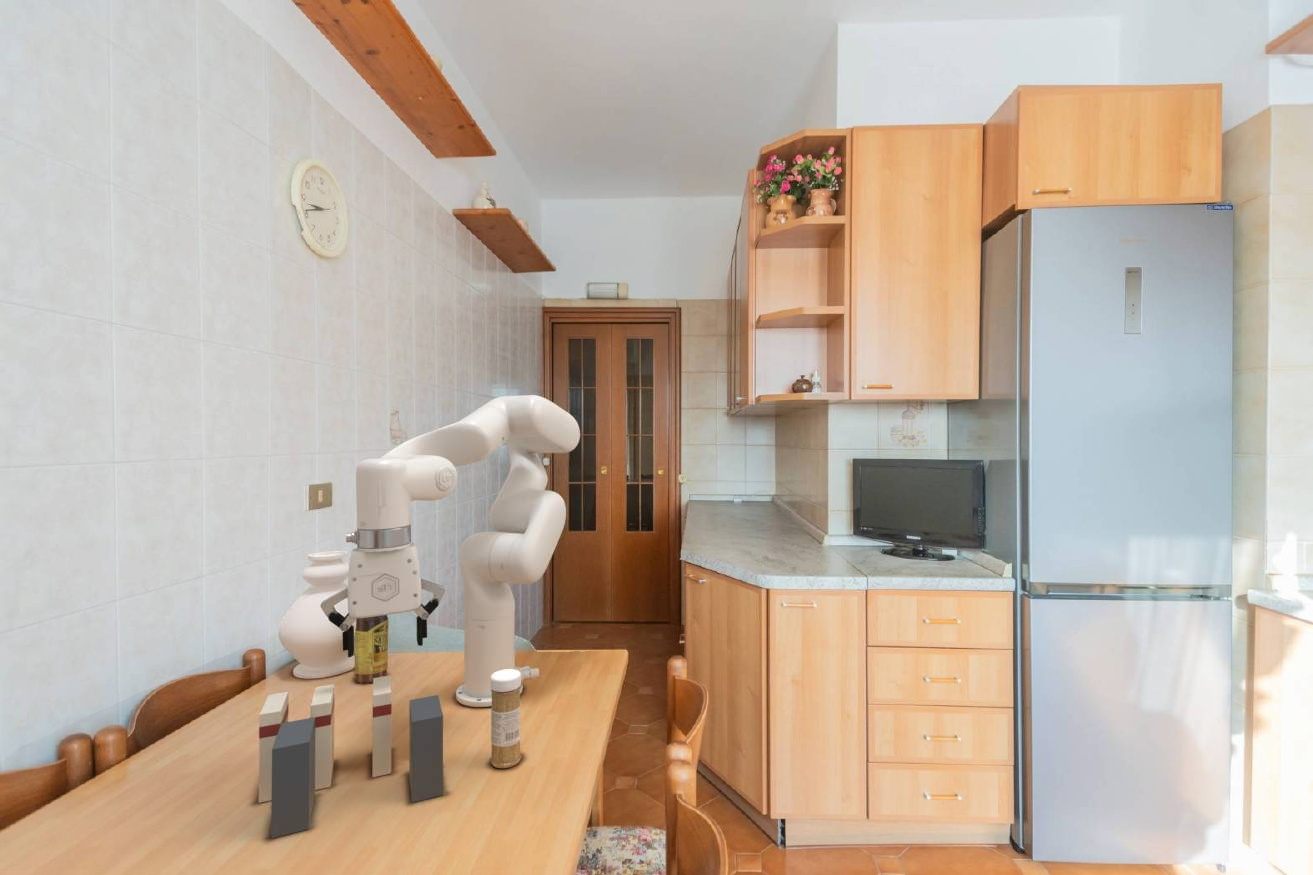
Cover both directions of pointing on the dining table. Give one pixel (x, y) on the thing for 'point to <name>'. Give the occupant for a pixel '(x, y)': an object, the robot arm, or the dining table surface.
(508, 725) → the sprinkles bottle
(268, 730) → the ivory book
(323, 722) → the ivory book
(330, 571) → the decorative vase
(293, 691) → the dining table surface
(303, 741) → the grey book
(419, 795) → the grey book
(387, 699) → the ivory book
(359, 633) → the sauce bottle
